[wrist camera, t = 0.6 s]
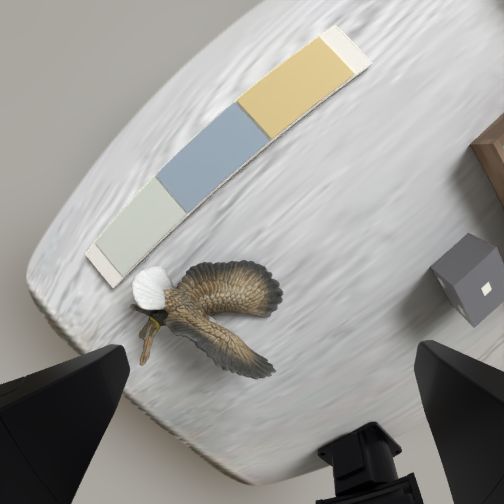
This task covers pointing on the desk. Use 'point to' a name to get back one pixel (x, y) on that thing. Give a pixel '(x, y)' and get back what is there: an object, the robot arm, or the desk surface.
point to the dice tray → (492, 155)
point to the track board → (225, 149)
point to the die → (472, 278)
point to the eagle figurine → (208, 309)
